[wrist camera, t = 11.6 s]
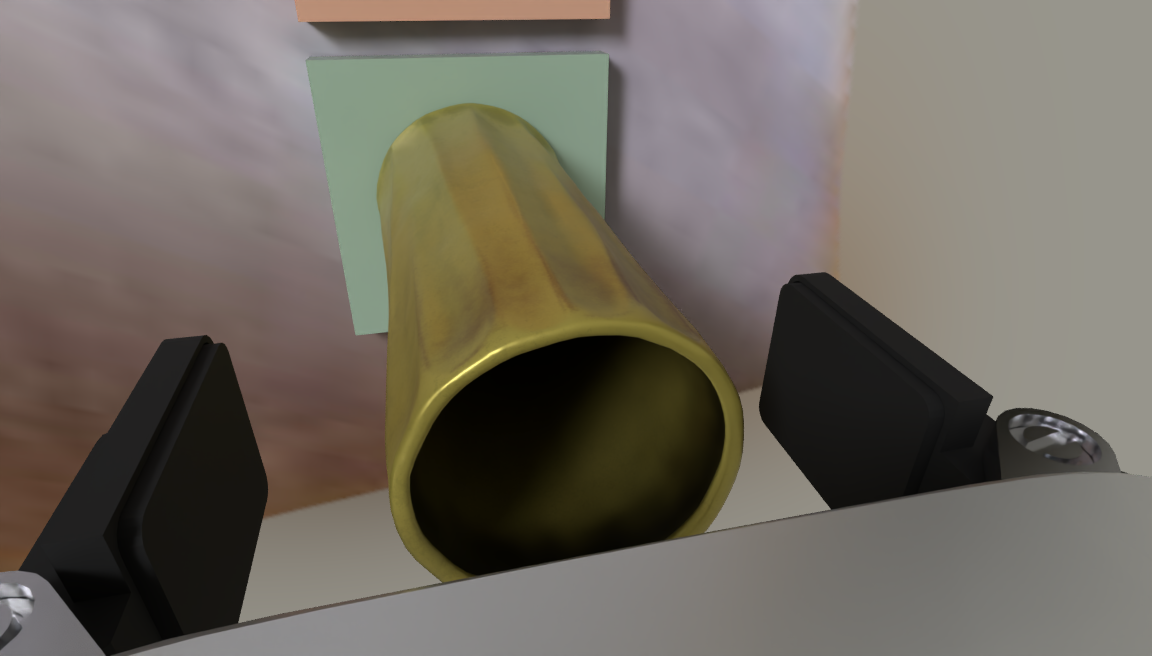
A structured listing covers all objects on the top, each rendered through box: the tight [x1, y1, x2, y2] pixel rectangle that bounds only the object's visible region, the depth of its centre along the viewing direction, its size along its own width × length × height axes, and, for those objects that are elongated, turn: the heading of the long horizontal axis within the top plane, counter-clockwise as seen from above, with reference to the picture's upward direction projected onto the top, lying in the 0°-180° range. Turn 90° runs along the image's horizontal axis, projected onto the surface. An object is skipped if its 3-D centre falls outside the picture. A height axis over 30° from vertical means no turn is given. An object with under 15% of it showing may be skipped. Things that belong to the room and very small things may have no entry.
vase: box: [376, 103, 744, 583], centre depth 15 cm, size 6×6×14 cm
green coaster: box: [306, 51, 609, 335], centre depth 22 cm, size 9×9×1 cm
